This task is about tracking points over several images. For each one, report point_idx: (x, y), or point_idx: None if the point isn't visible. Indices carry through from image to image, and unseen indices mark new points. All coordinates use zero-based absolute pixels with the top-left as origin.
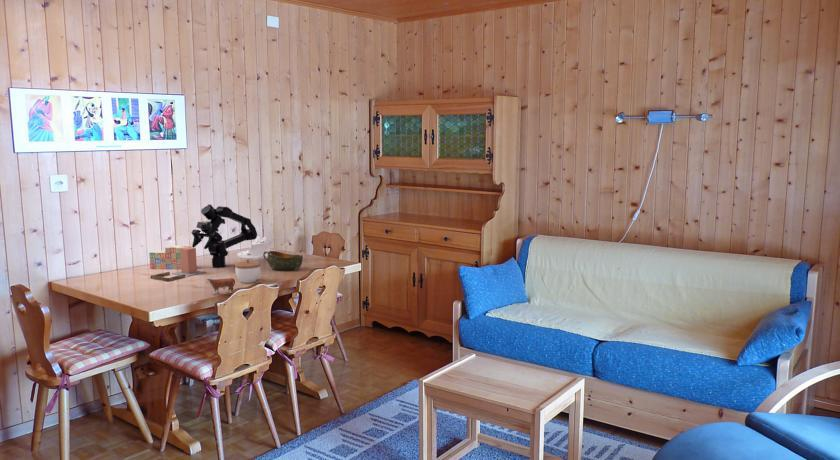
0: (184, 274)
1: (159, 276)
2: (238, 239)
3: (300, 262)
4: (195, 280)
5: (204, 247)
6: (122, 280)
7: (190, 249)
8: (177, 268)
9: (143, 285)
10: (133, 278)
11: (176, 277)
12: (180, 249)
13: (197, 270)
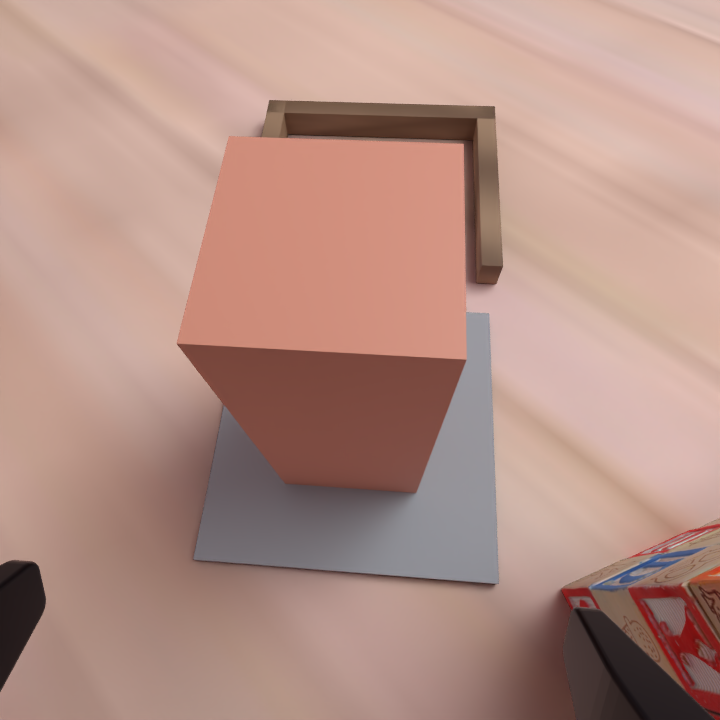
0: None
1: (394, 116)
2: None
3: None
4: (70, 231)
5: (4, 570)
6: (609, 23)
7: (214, 206)
8: (690, 532)
9: (338, 3)
10: (610, 81)
11: None
12: (456, 157)
13: (351, 566)
